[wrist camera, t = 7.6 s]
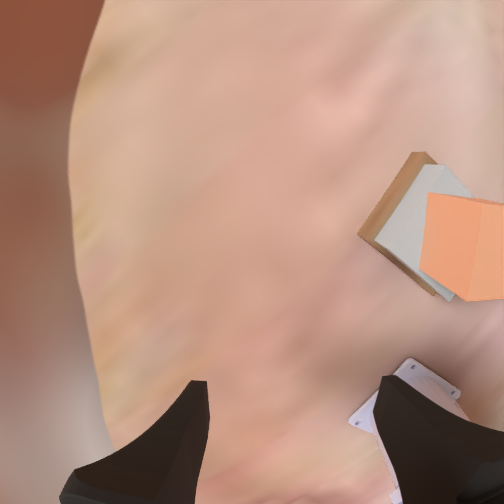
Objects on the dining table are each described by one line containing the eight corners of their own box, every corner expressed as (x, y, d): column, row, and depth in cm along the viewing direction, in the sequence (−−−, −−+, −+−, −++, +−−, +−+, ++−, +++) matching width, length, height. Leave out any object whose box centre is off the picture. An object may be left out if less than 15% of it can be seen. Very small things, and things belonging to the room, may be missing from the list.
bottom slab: (466, 212, 21) (485, 217, 18) (418, 284, 22) (433, 296, 20) (408, 152, 20) (425, 151, 17) (354, 232, 21) (366, 240, 19)
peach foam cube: (482, 199, 16) (537, 212, 11) (472, 268, 17) (522, 296, 12) (427, 192, 16) (482, 203, 11) (418, 268, 17) (466, 301, 12)
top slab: (476, 220, 18) (498, 226, 16) (431, 288, 20) (449, 302, 17) (424, 164, 18) (445, 164, 15) (373, 240, 19) (389, 250, 16)
